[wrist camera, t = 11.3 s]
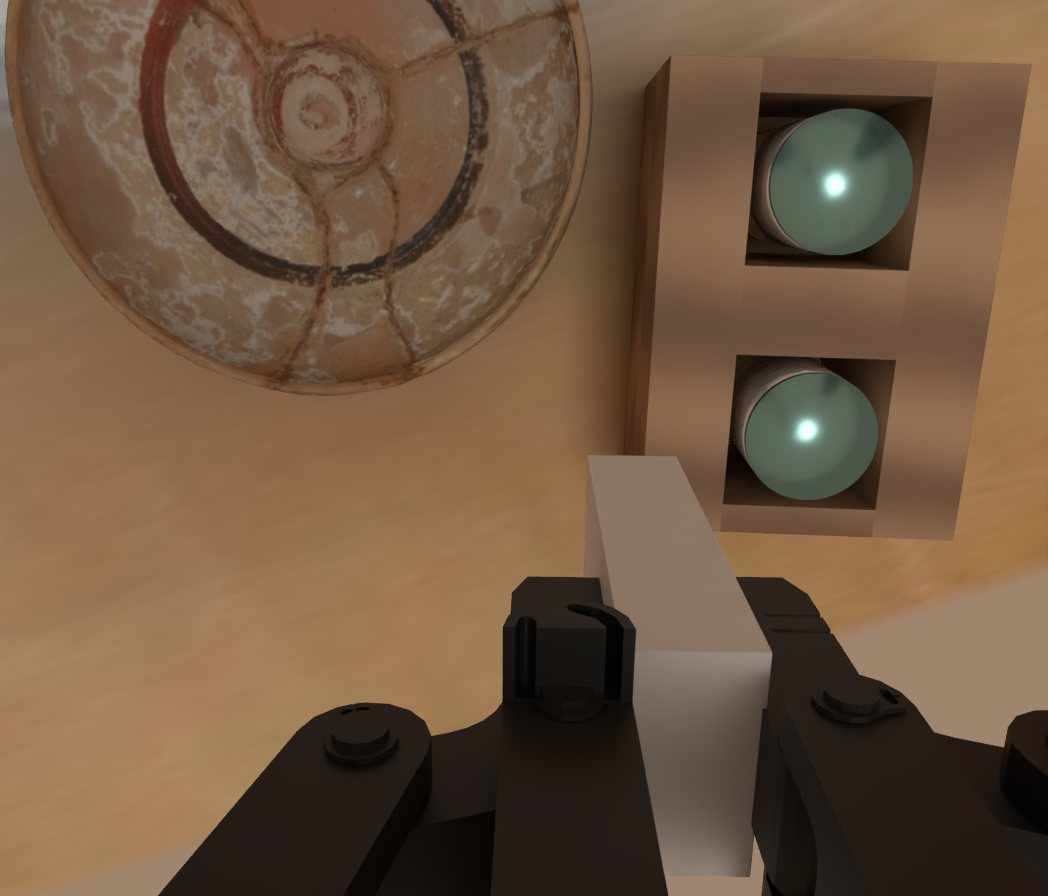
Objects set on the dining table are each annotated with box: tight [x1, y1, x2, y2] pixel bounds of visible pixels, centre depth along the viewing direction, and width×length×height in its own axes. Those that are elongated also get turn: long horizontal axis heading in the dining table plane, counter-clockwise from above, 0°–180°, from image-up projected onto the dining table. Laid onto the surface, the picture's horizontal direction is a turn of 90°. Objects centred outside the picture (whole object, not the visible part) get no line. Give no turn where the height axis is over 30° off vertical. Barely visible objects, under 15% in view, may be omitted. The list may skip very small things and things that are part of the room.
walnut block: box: [624, 55, 1032, 540], centre depth 37 cm, size 17×12×9 cm
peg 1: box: [748, 108, 913, 255], centre depth 35 cm, size 5×5×8 cm
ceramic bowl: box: [5, 0, 593, 396], centre depth 38 cm, size 23×24×5 cm
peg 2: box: [729, 355, 878, 500], centre depth 37 cm, size 5×5×8 cm
